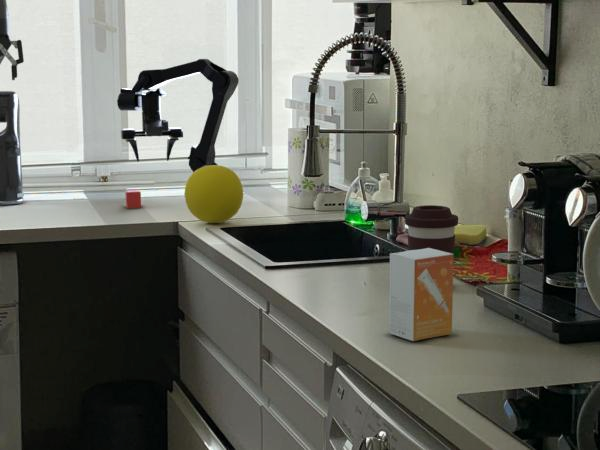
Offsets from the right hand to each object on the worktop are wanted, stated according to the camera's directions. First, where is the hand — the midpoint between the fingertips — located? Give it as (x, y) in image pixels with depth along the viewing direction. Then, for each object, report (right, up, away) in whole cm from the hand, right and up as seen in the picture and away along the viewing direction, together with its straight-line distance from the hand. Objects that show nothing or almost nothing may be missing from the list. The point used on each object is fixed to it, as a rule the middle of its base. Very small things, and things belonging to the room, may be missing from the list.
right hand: (152, 161), depth 326 cm
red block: (-2, -15, -23) cm, 28 cm away
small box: (+65, -37, -161) cm, 177 cm away
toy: (+24, -19, -53) cm, 61 cm away
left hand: (-34, +18, -52) cm, 64 cm away
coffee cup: (+71, -32, -128) cm, 149 cm away
